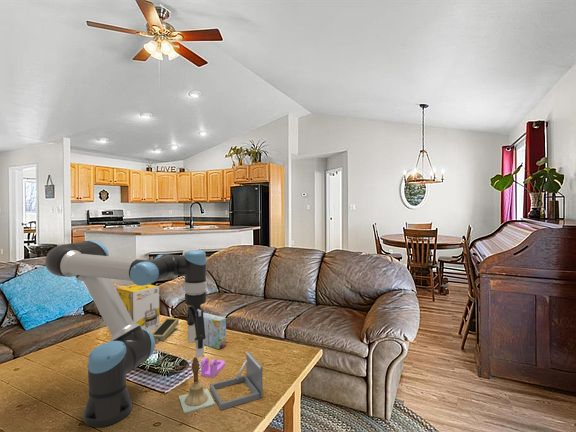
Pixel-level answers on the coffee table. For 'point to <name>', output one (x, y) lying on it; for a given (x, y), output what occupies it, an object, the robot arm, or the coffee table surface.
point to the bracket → (211, 367)
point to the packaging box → (142, 304)
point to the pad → (208, 403)
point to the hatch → (251, 379)
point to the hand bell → (196, 388)
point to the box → (165, 329)
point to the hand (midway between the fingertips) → (195, 349)
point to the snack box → (214, 331)
